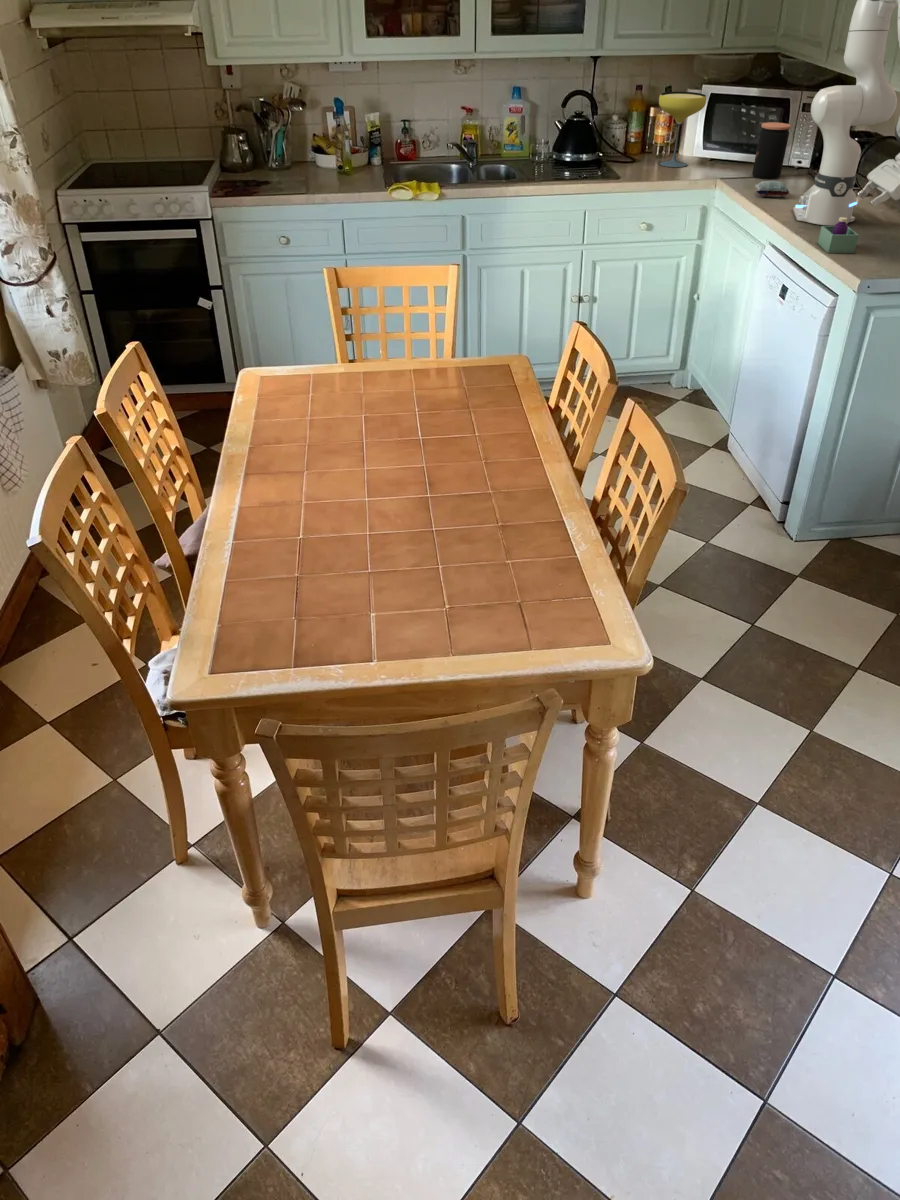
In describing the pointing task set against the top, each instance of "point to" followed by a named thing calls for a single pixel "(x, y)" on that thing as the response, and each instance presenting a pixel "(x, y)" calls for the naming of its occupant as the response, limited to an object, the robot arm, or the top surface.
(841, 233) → the grape juice bottle
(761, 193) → the packaged food
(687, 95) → the cocktail glass
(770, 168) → the coffee jar
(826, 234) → the bin
